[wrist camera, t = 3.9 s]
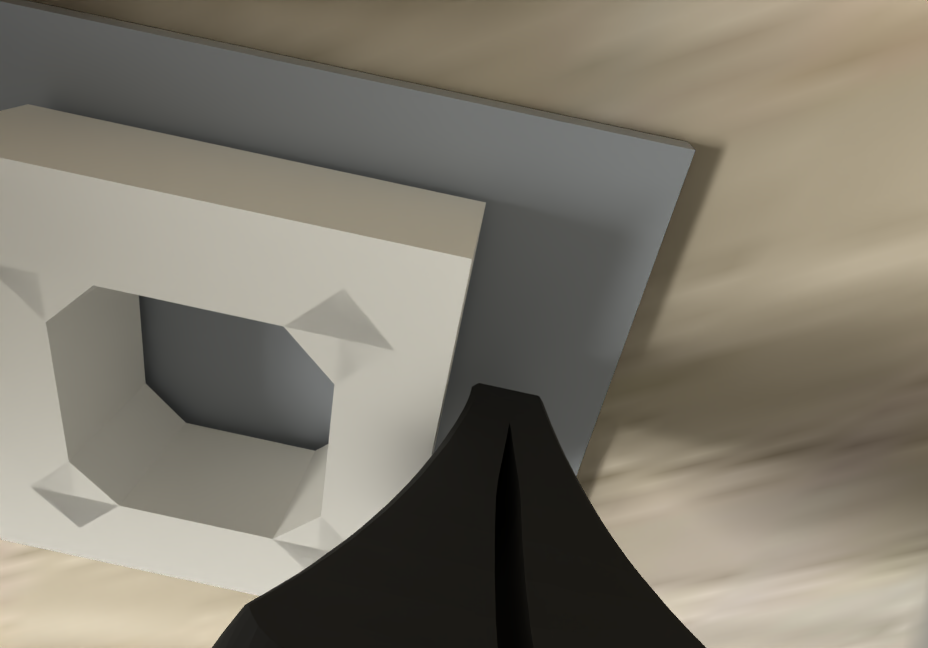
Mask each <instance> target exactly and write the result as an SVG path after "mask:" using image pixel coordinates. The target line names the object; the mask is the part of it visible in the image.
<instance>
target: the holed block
mask: <svg viewBox="0 0 928 648" xmlns="http://www.w3.org/2000/svg"><path fill="white" fill-rule="evenodd" d="M485 205H486V202H481V201H476V200H472V199H467V198H463V197H458V196H453V195H449V194H444V193H439V192H435V191H430V190H425V189H421V188H416V187H411V186H407V185H402V184H397V183H393V182H388V181H383V180H379V179H374V178H369V177H365V176H360V175H355V174H351V173H346V172H341V171H337V170H332V169H327V168H323V167H318V166H314V165H309V164H304V163H300V162H295V161H290V160H286V159H281V158H276V157H272V156H267V155H262V154H258V153H253V152H248V151H244V150H239V149H234V148H230V147H225V146H220V145H216V144H211V143H206V142H202V141H197V140H192V139H188V138H183V137H178V136H174V135H169V134H165V133H160V132H155V131H151V130H146V129H141V128H137V127H132V126H127V125H123V124H118V123H113V122H109V121H104V120H99V119H95V118H90V117H85V116H81V115H76V114H71V113H67V112H62V111H57V110H53V109H48V108H43V107H39V106H34V105H30V104H27V105H23V106H18V107H14V108H10V109H6V110H2V111H0V538H1V540H5V541H9V542H14V543H18V544H23V545H28V546H32V547H37V548H41V549H46V550H51V551H55V552H60V553H64V554H69V555H74V556H78V557H83V558H87V559H92V560H97V561H101V562H106V563H110V564H115V565H120V566H124V567H129V568H133V569H138V570H143V571H147V572H152V573H156V574H161V575H166V576H170V577H175V578H179V579H184V580H189V581H193V582H198V583H202V584H207V585H212V586H216V587H221V588H225V589H230V590H235V591H239V592H244V593H248V594H253V595H258V596H261V595H263V594H264V593H266V592H268V591H269V590H271V589H273V588H274V587H276V586H278V585H279V584H281V583H283V582H284V581H286V580H288V579H289V578H291V577H293V576H294V575H296V574H298V573H299V572H301V571H302V570H304V569H305V568H307V567H308V566H310V565H311V564H313V563H314V562H315V561H317V560H318V559H320V558H321V557H322V556H324V555H325V554H326V553H328V552H329V551H331V550H332V549H333V548H335V547H336V546H338V545H339V544H340V543H342V542H343V541H344V540H346V539H347V538H348V537H350V536H351V535H352V534H354V533H355V532H356V531H357V530H358V529H360V528H361V527H362V526H363V525H364V524H366V523H367V522H368V521H369V520H370V519H371V518H372V517H373V516H375V515H376V514H377V513H378V512H379V511H380V510H381V509H382V508H384V507H385V506H386V505H387V504H388V503H389V502H390V501H391V500H392V499H393V498H394V497H395V496H396V495H397V494H398V493H399V492H400V491H401V490H402V489H403V488H404V487H405V486H406V485H407V484H408V483H409V482H410V481H411V479H412V478H413V477H414V476H415V475H416V474H417V473H418V472H419V470H420V469H421V468H422V467H423V466H424V464H425V463H426V462H427V461H428V460H429V458H430V457H431V456H432V455H433V453H434V448H435V443H436V438H437V434H438V429H439V424H440V419H441V415H442V410H443V405H444V400H445V396H446V391H447V386H448V381H449V377H450V372H451V367H452V362H453V358H454V353H455V348H456V343H457V339H458V334H459V329H460V324H461V320H462V315H463V310H464V305H465V301H466V296H467V291H468V286H469V282H470V277H471V272H472V267H473V263H474V258H475V253H476V248H477V244H478V239H479V234H480V229H481V224H482V220H483V215H484V210H485ZM139 295H140V296H145V297H150V298H154V299H159V300H164V301H168V302H173V303H177V304H182V305H187V306H191V307H196V308H201V309H205V310H210V311H215V312H219V313H224V314H228V315H233V316H238V317H242V318H247V319H252V320H256V321H261V322H265V323H270V324H275V325H279V326H284V328H285V329H286V330H287V331H288V332H289V333H290V334H291V336H292V337H293V338H294V339H295V340H296V341H297V342H298V344H299V345H300V346H301V347H302V348H303V349H304V350H305V352H306V353H307V354H308V355H309V356H310V357H311V358H312V359H313V361H314V362H315V363H316V364H317V365H318V366H319V367H320V369H321V370H322V371H323V372H324V373H325V374H326V375H327V377H328V378H329V379H330V380H331V381H332V382H333V383H334V393H333V403H332V413H331V423H330V433H329V442H328V444H327V445H325V446H323V447H321V448H319V449H317V450H316V451H314V450H309V449H305V448H300V447H296V446H291V445H286V444H282V443H277V442H272V441H268V440H263V439H259V438H254V437H249V436H245V435H240V434H235V433H231V432H226V431H222V430H217V429H212V428H208V427H203V426H199V425H194V424H189V423H186V422H185V421H184V420H182V419H181V418H180V417H179V416H178V415H177V414H176V413H175V412H174V411H173V410H172V409H171V408H170V407H169V406H168V405H167V404H166V403H165V402H164V401H163V400H162V399H161V398H160V397H159V396H158V395H157V394H156V393H155V392H154V391H153V390H152V389H151V388H150V387H149V386H148V385H147V384H146V382H145V370H144V357H143V344H142V332H141V319H140V306H139Z"/></svg>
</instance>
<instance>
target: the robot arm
mask: <svg viewBox="0 0 928 648" xmlns="http://www.w3.org/2000/svg"><path fill="white" fill-rule="evenodd" d="M212 648H706V647H705V646H704V645H703V644H702V643H701V642H700V641H699V640H698V639H697V638H696V637H695V636H694V635H693V634H692V633H691V632H690V631H689V630H688V629H687V628H686V627H685V626H684V625H683V623H682V622H681V621H680V620H679V619H678V618H677V617H676V616H675V615H674V614H673V613H672V612H671V610H670V609H669V608H668V607H667V606H666V605H665V604H664V602H663V601H662V600H661V599H660V598H659V597H658V595H657V594H656V593H655V592H654V591H653V589H652V588H651V587H650V586H649V585H648V584H647V582H646V581H645V580H644V579H643V578H642V577H641V575H640V574H639V573H638V571H637V570H636V569H635V568H634V566H633V565H632V564H631V563H630V561H629V560H628V559H627V557H626V556H625V554H624V553H623V552H622V550H621V549H620V547H619V546H618V545H617V543H616V542H615V540H614V539H613V538H612V536H611V535H610V533H609V532H608V530H607V529H606V527H605V525H604V524H603V522H602V521H601V519H600V518H599V516H598V514H597V513H596V511H595V509H594V508H593V506H592V504H591V502H590V501H589V499H588V497H587V496H586V494H585V492H584V490H583V489H582V487H581V485H580V483H579V481H578V479H577V477H576V475H575V473H574V471H573V469H572V468H571V466H570V464H569V462H568V460H567V458H566V456H565V454H564V451H563V449H562V447H561V445H560V443H559V441H558V438H557V436H556V434H555V431H554V429H553V427H552V424H551V422H550V419H549V417H548V414H547V412H546V409H545V406H544V404H543V401H542V400H541V398H540V397H539V396H537V395H533V394H528V393H524V392H519V391H514V390H510V389H505V388H501V387H496V386H491V385H487V384H482V383H478V384H476V385H474V386H472V388H471V392H470V395H469V398H468V401H467V403H466V405H465V407H464V409H463V411H462V412H461V414H460V416H459V418H458V419H457V421H456V423H455V424H454V426H453V427H452V428H451V430H450V431H449V433H448V434H447V436H446V437H445V439H444V440H443V442H442V443H441V444H440V446H439V447H438V448H437V450H436V451H435V452H434V453H433V455H432V456H431V457H430V458H429V460H428V461H427V462H426V463H425V464H424V466H423V467H422V468H421V469H420V470H419V472H418V473H417V474H416V475H415V476H414V477H413V478H412V479H411V481H410V482H409V483H408V484H407V485H406V486H405V487H404V488H403V489H402V490H401V491H400V492H399V493H398V494H397V495H396V496H395V497H394V498H393V499H392V500H391V501H390V502H389V503H388V504H387V505H386V506H385V507H384V508H382V509H381V510H380V511H379V512H378V513H377V514H376V515H375V516H373V517H372V518H371V519H370V520H369V521H368V522H367V523H366V524H364V525H363V526H362V527H361V528H360V529H358V530H357V531H356V532H355V533H354V534H352V535H351V536H350V537H348V538H347V539H346V540H344V541H343V542H342V543H340V544H339V545H338V546H336V547H335V548H333V549H332V550H331V551H329V552H328V553H326V554H325V555H324V556H322V557H321V558H320V559H318V560H317V561H315V562H314V563H313V564H311V565H310V566H308V567H307V568H305V569H304V570H302V571H301V572H299V573H298V574H296V575H294V576H293V577H291V578H289V579H288V580H286V581H284V582H283V583H281V584H279V585H278V586H276V587H274V588H273V589H271V590H269V591H268V592H266V593H264V594H263V595H261V596H259V597H258V598H256V599H254V600H253V601H251V602H249V603H247V604H246V605H245V606H244V607H243V608H242V609H241V611H240V612H239V613H238V614H237V616H236V617H235V618H234V619H233V621H232V622H231V623H230V624H229V626H228V627H227V628H226V629H225V631H224V632H223V633H222V635H221V636H220V637H219V639H218V640H217V641H216V643H215V644H214V646H213V647H212Z"/></svg>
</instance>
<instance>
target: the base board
mask: <svg viewBox="0 0 928 648" xmlns="http://www.w3.org/2000/svg"><path fill="white" fill-rule="evenodd" d="M27 104H30V105H34V106H39V107H43V108H48V109H53V110H57V111H62V112H67V113H71V114H76V115H81V116H85V117H90V118H95V119H99V120H104V121H109V122H113V123H118V124H123V125H127V126H132V127H137V128H141V129H146V130H151V131H155V132H160V133H165V134H169V135H174V136H178V137H183V138H188V139H192V140H197V141H202V142H206V143H211V144H216V145H220V146H225V147H230V148H234V149H239V150H244V151H248V152H253V153H258V154H262V155H267V156H272V157H276V158H281V159H286V160H290V161H295V162H300V163H304V164H309V165H314V166H318V167H323V168H327V169H332V170H337V171H341V172H346V173H351V174H355V175H360V176H365V177H369V178H374V179H379V180H383V181H388V182H393V183H397V184H402V185H407V186H411V187H416V188H421V189H425V190H430V191H435V192H439V193H444V194H449V195H453V196H458V197H463V198H467V199H472V200H476V201H481V202H486V205H485V210H484V215H483V220H482V224H481V229H480V234H479V239H478V244H477V248H476V253H475V258H474V263H473V267H472V272H471V277H470V282H469V286H468V291H467V296H466V301H465V305H464V310H463V315H462V320H461V324H460V329H459V334H458V339H457V343H456V348H455V353H454V358H453V362H452V367H451V372H450V377H449V381H448V386H447V391H446V396H445V400H444V405H443V410H442V415H441V419H440V424H439V429H438V434H437V438H436V443H435V448H434V452H435V451H436V450H437V448H438V447H439V446H440V444H441V443H442V442H443V440H444V439H445V437H446V436H447V434H448V433H449V431H450V430H451V428H452V427H453V426H454V424H455V423H456V421H457V419H458V418H459V416H460V414H461V412H462V411H463V409H464V407H465V405H466V403H467V401H468V398H469V395H470V392H471V388H472V386H474V385H476V384H478V383H482V384H487V385H491V386H496V387H501V388H505V389H510V390H514V391H519V392H524V393H528V394H533V395H537V396H539V397H540V398H541V400H542V401H543V404H544V406H545V409H546V412H547V414H548V417H549V419H550V422H551V424H552V427H553V429H554V431H555V434H556V436H557V438H558V441H559V443H560V445H561V447H562V449H563V451H564V454H565V456H566V458H567V460H568V462H569V464H570V466H571V468H572V469H573V471H574V473H575V475H576V476H577V473H578V470H579V468H580V465H581V462H582V459H583V457H584V454H585V451H586V448H587V446H588V443H589V440H590V437H591V435H592V432H593V429H594V426H595V424H596V421H597V418H598V415H599V413H600V410H601V407H602V405H603V402H604V399H605V396H606V394H607V391H608V388H609V385H610V383H611V380H612V377H613V374H614V372H615V369H616V366H617V363H618V361H619V358H620V355H621V353H622V350H623V347H624V344H625V342H626V339H627V336H628V333H629V331H630V328H631V325H632V322H633V320H634V317H635V314H636V311H637V309H638V306H639V303H640V301H641V298H642V295H643V292H644V290H645V287H646V284H647V281H648V279H649V276H650V273H651V270H652V268H653V265H654V262H655V259H656V257H657V254H658V251H659V248H660V246H661V243H662V240H663V238H664V235H665V232H666V229H667V227H668V224H669V221H670V218H671V216H672V213H673V210H674V207H675V205H676V202H677V199H678V196H679V194H680V191H681V188H682V186H683V183H684V180H685V177H686V175H687V172H688V169H689V166H690V164H691V161H692V158H693V155H694V153H695V149H694V148H693V147H692V146H691V145H690V144H689V143H688V142H686V141H681V140H676V139H672V138H667V137H662V136H658V135H653V134H648V133H644V132H639V131H634V130H630V129H625V128H620V127H616V126H611V125H606V124H602V123H597V122H592V121H588V120H583V119H578V118H574V117H569V116H564V115H560V114H555V113H550V112H546V111H541V110H536V109H532V108H527V107H522V106H518V105H513V104H508V103H504V102H499V101H494V100H489V99H485V98H480V97H475V96H471V95H466V94H461V93H457V92H452V91H447V90H443V89H438V88H433V87H429V86H424V85H419V84H415V83H410V82H405V81H401V80H396V79H391V78H387V77H382V76H377V75H373V74H368V73H363V72H359V71H354V70H349V69H345V68H340V67H335V66H331V65H326V64H321V63H317V62H312V61H307V60H303V59H298V58H293V57H289V56H284V55H279V54H275V53H270V52H265V51H261V50H256V49H251V48H247V47H242V46H237V45H233V44H228V43H223V42H219V41H214V40H209V39H205V38H200V37H195V36H191V35H186V34H181V33H177V32H172V31H167V30H163V29H158V28H153V27H149V26H144V25H139V24H135V23H130V22H125V21H121V20H116V19H111V18H107V17H102V16H97V15H93V14H88V13H83V12H79V11H74V10H69V9H65V8H60V7H55V6H51V5H46V4H41V3H37V2H32V1H27V0H0V111H2V110H6V109H10V108H14V107H18V106H23V105H27ZM139 306H140V319H141V332H142V344H143V357H144V370H145V382H146V384H147V385H148V386H149V387H150V388H151V389H152V390H153V391H154V392H155V393H156V394H157V395H158V396H159V397H160V398H161V399H162V400H163V401H164V402H165V403H166V404H167V405H168V406H169V407H170V408H171V409H172V410H173V411H174V412H175V413H176V414H177V415H178V416H179V417H180V418H181V419H182V420H184V421H185V422H186V423H189V424H194V425H199V426H203V427H208V428H212V429H217V430H222V431H226V432H231V433H235V434H240V435H245V436H249V437H254V438H259V439H263V440H268V441H272V442H277V443H282V444H286V445H291V446H296V447H300V448H305V449H309V450H314V451H316V450H317V449H319V448H321V447H323V446H325V445H327V444H328V442H329V433H330V423H331V413H332V403H333V393H334V383H333V382H332V381H331V380H330V379H329V378H328V377H327V375H326V374H325V373H324V372H323V371H322V370H321V369H320V367H319V366H318V365H317V364H316V363H315V362H314V361H313V359H312V358H311V357H310V356H309V355H308V354H307V353H306V352H305V350H304V349H303V348H302V347H301V346H300V345H299V344H298V342H297V341H296V340H295V339H294V338H293V337H292V336H291V334H290V333H289V332H288V331H287V330H286V329H285V328H284V326H279V325H275V324H270V323H265V322H261V321H256V320H252V319H247V318H242V317H238V316H233V315H228V314H224V313H219V312H215V311H210V310H205V309H201V308H196V307H191V306H187V305H182V304H177V303H173V302H168V301H164V300H159V299H154V298H150V297H145V296H140V295H139Z"/></svg>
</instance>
